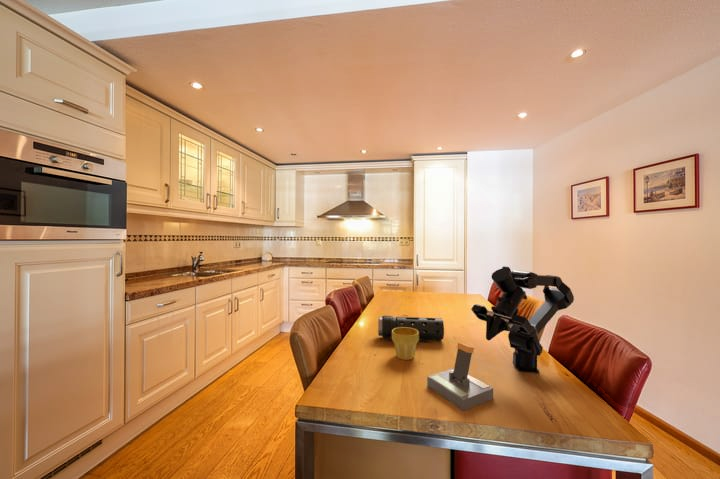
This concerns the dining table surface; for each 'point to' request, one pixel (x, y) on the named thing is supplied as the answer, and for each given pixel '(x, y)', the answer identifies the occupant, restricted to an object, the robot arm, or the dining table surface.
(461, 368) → the handle
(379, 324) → the muzzle brake
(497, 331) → the robot arm
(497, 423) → the dining table surface
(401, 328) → the plant pot
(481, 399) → the switch base
